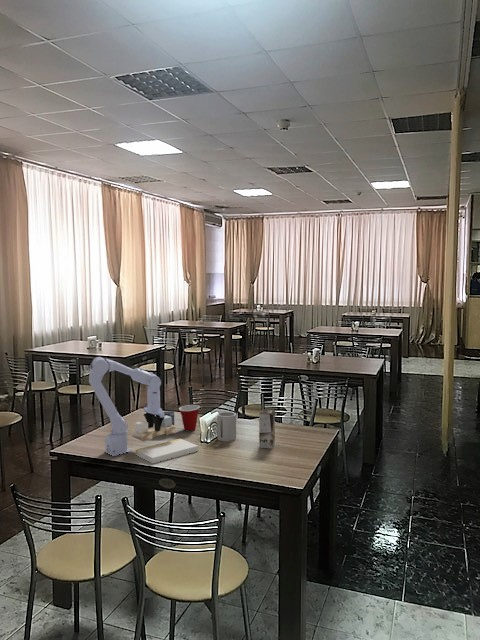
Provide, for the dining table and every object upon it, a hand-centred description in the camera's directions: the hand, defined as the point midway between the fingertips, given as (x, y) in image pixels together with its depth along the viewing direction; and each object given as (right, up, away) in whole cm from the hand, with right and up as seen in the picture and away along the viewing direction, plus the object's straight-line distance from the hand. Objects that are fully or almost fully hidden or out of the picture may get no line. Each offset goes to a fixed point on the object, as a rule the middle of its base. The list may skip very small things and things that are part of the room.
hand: (154, 429), depth 242 cm
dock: (+7, -9, -7) cm, 13 cm away
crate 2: (+5, +1, +4) cm, 7 cm away
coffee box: (+52, -8, +4) cm, 53 cm away
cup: (+33, -7, +15) cm, 37 cm away
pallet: (0, -2, 0) cm, 2 cm away
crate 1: (-5, 0, -4) cm, 6 cm away
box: (+2, -7, +23) cm, 25 cm away
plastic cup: (+13, -6, +29) cm, 33 cm away
